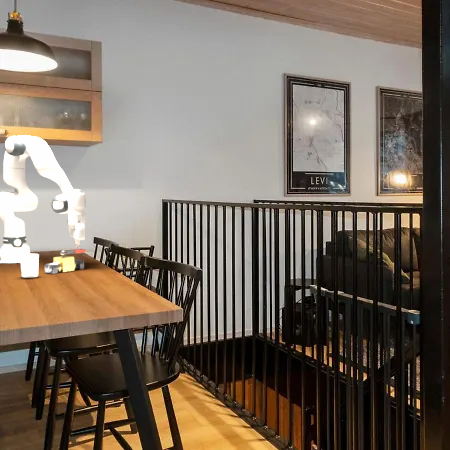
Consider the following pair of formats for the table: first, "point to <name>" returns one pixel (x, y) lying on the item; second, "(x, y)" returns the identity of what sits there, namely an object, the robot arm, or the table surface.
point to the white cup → (29, 265)
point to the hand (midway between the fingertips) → (77, 247)
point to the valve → (64, 264)
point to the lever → (72, 251)
